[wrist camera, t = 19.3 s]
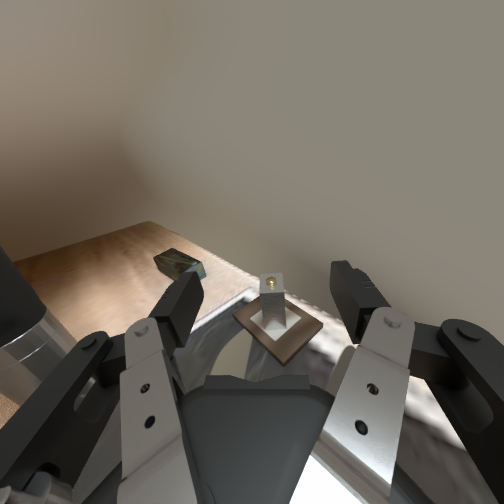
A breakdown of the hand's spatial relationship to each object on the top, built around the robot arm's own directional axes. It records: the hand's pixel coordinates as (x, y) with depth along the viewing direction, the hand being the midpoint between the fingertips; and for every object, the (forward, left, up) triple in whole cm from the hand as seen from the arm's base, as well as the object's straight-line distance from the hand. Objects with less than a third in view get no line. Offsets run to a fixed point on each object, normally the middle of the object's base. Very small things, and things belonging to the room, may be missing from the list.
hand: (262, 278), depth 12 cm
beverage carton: (-44, +29, -28) cm, 60 cm away
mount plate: (-7, +19, -28) cm, 35 cm away
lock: (-7, +19, -27) cm, 34 cm away
